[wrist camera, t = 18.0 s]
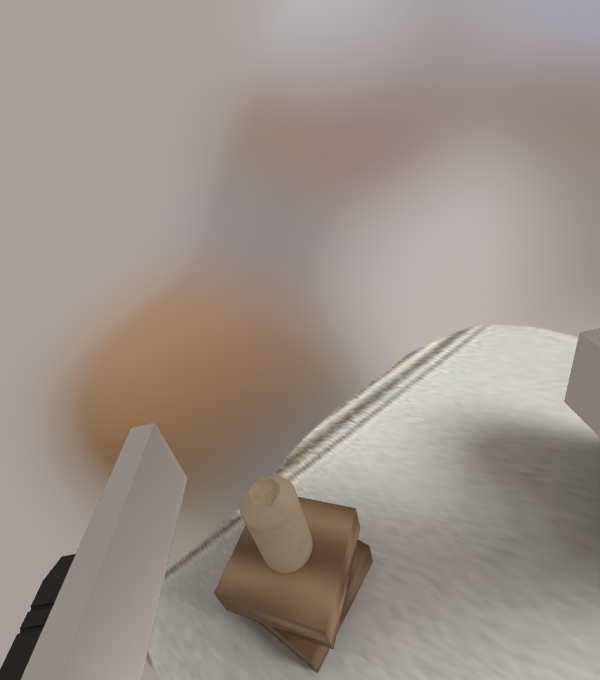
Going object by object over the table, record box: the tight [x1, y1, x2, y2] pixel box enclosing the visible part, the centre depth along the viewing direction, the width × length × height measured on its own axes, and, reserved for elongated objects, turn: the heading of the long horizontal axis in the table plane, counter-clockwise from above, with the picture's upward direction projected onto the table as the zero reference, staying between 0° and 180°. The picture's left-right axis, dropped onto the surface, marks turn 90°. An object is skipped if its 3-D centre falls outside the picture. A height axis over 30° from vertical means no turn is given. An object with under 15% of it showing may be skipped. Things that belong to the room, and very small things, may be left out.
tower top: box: [214, 497, 360, 649], centre depth 41 cm, size 12×12×4 cm
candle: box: [240, 476, 313, 574], centre depth 37 cm, size 6×6×10 cm
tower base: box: [259, 540, 373, 672], centre depth 43 cm, size 12×12×4 cm
